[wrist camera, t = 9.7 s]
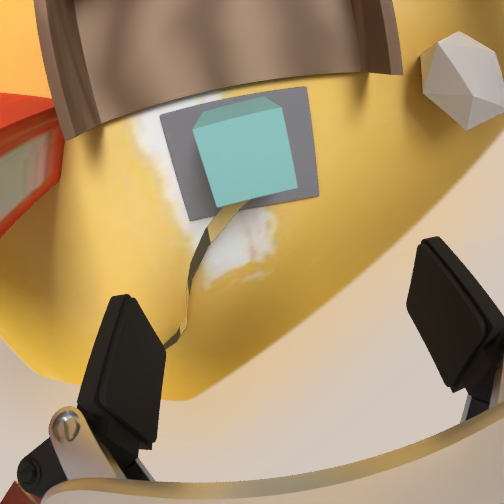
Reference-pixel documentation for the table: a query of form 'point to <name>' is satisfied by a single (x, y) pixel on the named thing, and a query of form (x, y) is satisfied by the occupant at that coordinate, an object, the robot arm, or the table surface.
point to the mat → (193, 169)
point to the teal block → (245, 150)
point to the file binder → (27, 153)
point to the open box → (199, 48)
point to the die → (463, 80)
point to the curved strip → (205, 241)
